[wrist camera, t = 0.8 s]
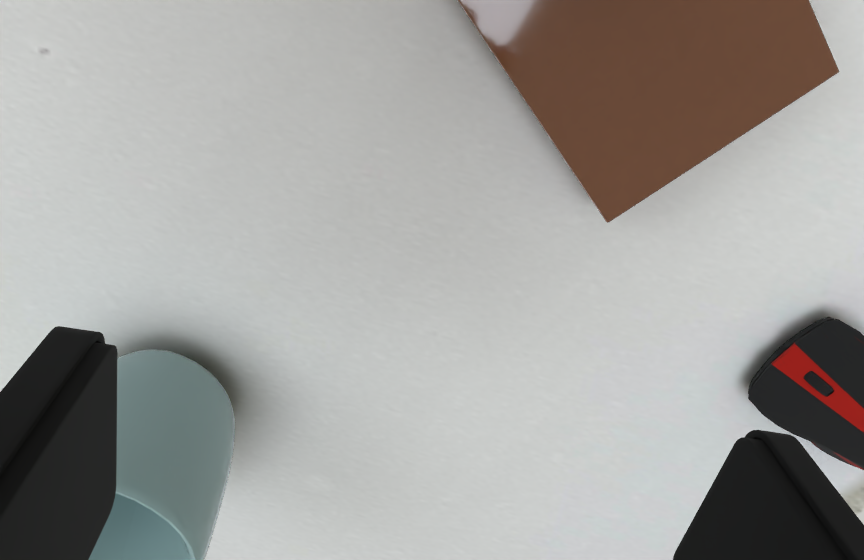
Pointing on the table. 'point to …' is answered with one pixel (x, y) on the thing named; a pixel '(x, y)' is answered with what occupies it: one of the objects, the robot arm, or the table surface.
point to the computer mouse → (817, 389)
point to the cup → (167, 459)
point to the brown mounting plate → (651, 79)
